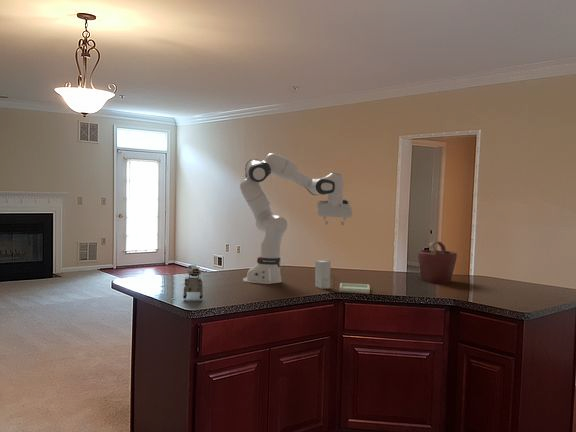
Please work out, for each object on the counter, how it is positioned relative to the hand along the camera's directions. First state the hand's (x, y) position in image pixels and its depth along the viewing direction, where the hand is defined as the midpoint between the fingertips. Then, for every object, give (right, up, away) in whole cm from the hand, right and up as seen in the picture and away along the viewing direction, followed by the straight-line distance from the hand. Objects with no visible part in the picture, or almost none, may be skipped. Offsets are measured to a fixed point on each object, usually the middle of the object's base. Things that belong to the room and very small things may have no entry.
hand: (334, 224), depth 309 cm
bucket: (+64, -36, +18) cm, 75 cm away
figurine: (-73, -34, -55) cm, 97 cm away
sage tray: (+9, -35, -21) cm, 42 cm away
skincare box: (-8, -35, -16) cm, 39 cm away
